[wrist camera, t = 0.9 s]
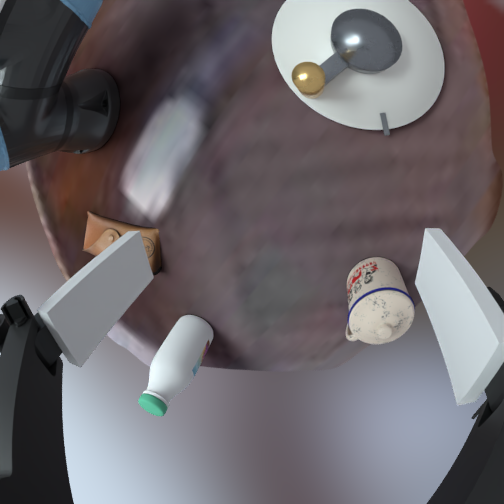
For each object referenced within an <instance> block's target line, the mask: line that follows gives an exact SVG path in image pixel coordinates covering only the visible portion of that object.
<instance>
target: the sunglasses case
mask: <svg viewBox="0 0 504 504" xmlns="http://www.w3.org/2000/svg"><path fill="white" fill-rule="evenodd" d="M87 214H88V221H87V227H86V234H85V241H84V249H82V250H83V251H86V252H89V253H91V254H93V255H95V256H98V255H99V254H100V253H101V252H103V251H104V250H105V249H106V248H108V247H109V246H110V245H111V244H113V243H114V242H115V241H116V240H118V239H119V238H120V237H122V236H123V235H124V234H125V233H127V232H128V231H140V233H141V237H142V241H143V244H144V247H145V251H146V254H147V258H148V261H149V264H150V267H151V270H152V274H153V275H156V274H158V273H159V272H160V270H161V268H162V267H161V255H160V240H159V234H158V232H159V230H158V229H156V228H148V227H141V226H136V225H131V224H128V223H124V222H120V221H116V220H113V219H109V218H106V217H102V216H99V215H97V214H94V213H93V212H90V211H88V212H87Z"/></svg>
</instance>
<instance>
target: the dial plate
mask: <svg viewBox="0 0 504 504" xmlns="http://www.w3.org/2000/svg"><path fill="white" fill-rule="evenodd" d="M350 9H368V10H372V11H375V12H377V13H379V14H381V15H383V16H384V17H386V18H387V19H388V20H389V21H390V22H391V23H392V24H393V25H394V26H395V27H396V29H397V30H398V32H399V34H400V36H401V40H402V53H401V56H400V58H399V59H398V61H397V62H396V63H395V64H394V65H392V66H391V67H389V68H388V69H387V70H385V71H383V72H381V73H377V74H363V73H359V72H356V71H354V70H351V69H350V68H346V69H345V70H344V71H343V72H341V73H340V74H339V75H338V76H337V77H335V78H334V79H333V80H332V81H330V82H329V83H328V84H327V85H326V86H324V90H323V93H322V94H321V95H320V96H319V97H317V98H314V99H310V98H306V97H304V96H303V95H302V94H301V93H300V92H299V90H298V89H297V87H296V86H295V85H294V83H293V81H292V71H293V69H294V67H295V66H296V65H298V64H299V63H302V62H313V63H316V64H317V65H321V64H322V63H323V62H324V61H326V60H327V59H328V58H329V57H331V56H332V55H333V54H334V52H333V50H332V47H331V42H330V36H331V28H332V24H333V22H334V20H335V19H336V18H337V16H339V15H340V14H341V13H343V12H345V11H347V10H350ZM272 49H273V54H274V58H275V61H276V64H277V66H278V69H279V71H280V73H281V74H282V76H283V78H284V80H285V81H286V83H287V84H288V85H289V87H290V88H291V89H292V90H293V92H294V93H295V94H296V95H297V96H298V97H299V98H300V99H301V100H302V101H303V102H304V103H306V104H307V105H308V106H309V107H311V108H312V109H313V110H315V111H316V112H318V113H319V114H321V115H323V116H325V117H326V118H328V119H331V120H333V121H335V122H338V123H340V124H343V125H347V126H350V127H355V128H360V129H368V130H383V132H384V135H390V133H389V129H392V128H397V127H400V126H403V125H406V124H408V123H410V122H413V121H415V120H416V119H418V118H419V117H421V116H422V115H423V114H424V113H425V112H427V111H428V110H429V109H430V108H431V106H432V105H433V104H434V102H435V101H436V99H437V97H438V95H439V93H440V91H441V88H442V85H443V80H444V57H443V52H442V48H441V45H440V42H439V40H438V37H437V35H436V33H435V31H434V30H433V28H432V26H431V25H430V23H429V22H428V20H427V19H426V18H425V16H424V15H423V14H422V13H421V12H420V11H419V10H418V9H417V8H416V7H415V6H414V5H413V4H412V3H411V2H409V1H408V0H286V1H285V3H284V4H283V5H282V7H281V8H280V10H279V12H278V13H277V16H276V18H275V21H274V25H273V29H272Z"/></svg>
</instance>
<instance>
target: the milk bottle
mask: <svg viewBox="0 0 504 504" xmlns="http://www.w3.org/2000/svg"><path fill="white" fill-rule="evenodd" d="M212 340H213V330H212V328H211V326H210V325H209V324H208V323H207V322H206V321H205V320H204V319H202V318H200V317H198V316H195V315H185V316H183V317H181V318H180V319H179V320H178V321H177V323H176V324H175V326H174V327H173V329H172V330H171V332H170V333H169V335H168V336H167V338H166V339H165V341H164V343H163V344H162V346H161V347H160V349H159V350H158V352H157V354H156V355H155V357H154V359H153V361H152V363H151V367H150V375H149V384H148V387H147V390H146V391H144V392H143V394H142V395H141V397H140V398H139V401H138V402H139V404H140V406H141V407H142V408H143V409H145V410H146V411H148V412H149V413H151V414H153V415H156V416H163V415H164V414H165V413H166V411H167V408H168V407H169V402H170V400H171V399H173V398H174V397H175V396H176V395H177V394H179V393H180V392H182V391H183V390H184V389H186V388H187V386H188V385H189V384H190V383H191V381H192V379H193V378H194V376H195V374H196V372H197V370H198V368H199V366H200V364H201V362H202V360H203V358H204V356H205V354H206V352H207V350H208V348H209V346H210V344H211V342H212Z"/></svg>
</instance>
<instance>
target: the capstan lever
mask: <svg viewBox="0 0 504 504" xmlns="http://www.w3.org/2000/svg"><path fill="white" fill-rule="evenodd" d="M330 42H331V47H332V50H333V52H334V54H333V55H332V56H331V57H329V58H328V59H327V60H326V61H324V62H323V63H322V64H321V65H317V64H316V63H313V62H302V63H299V64H298V65H296V66H295V67H294V69H293V71H292V81H293V83H294V85H295V86H296V87H297V89H298V90H299V92H300V93H301V94H302V95H303V96H304V97H306V98H310V99H314V98H317V97H319V96H320V95H321V94H322V93H323V90H324V86H326V85H327V84H328V83H329V82H330V81H332V80H333V79H334V78H335V77H337V76H338V75H339V74H340V73H341V72H343V71H344V70H345V69H346V68H350V69H351V70H354V71H356V72H359V73H363V74H377V73H381V72H383V71H385V70H387V69H388V68H389V67H391V66H392V65H394V64H395V63H396V62H397V61H398V59H399V58H400V56H401V53H402V40H401V36H400V34H399V32H398V30H397V29H396V27H395V26H394V25H393V24H392V23H391V22H390V21H389V20H388V19H387V18H386V17H384V16H383V15H381V14H379V13H377V12H375V11H372V10H368V9H350V10H347V11H345V12H343V13H341V14H340V15H339V16H337V18H336V19H335V20H334V22H333V24H332V28H331V36H330Z"/></svg>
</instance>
